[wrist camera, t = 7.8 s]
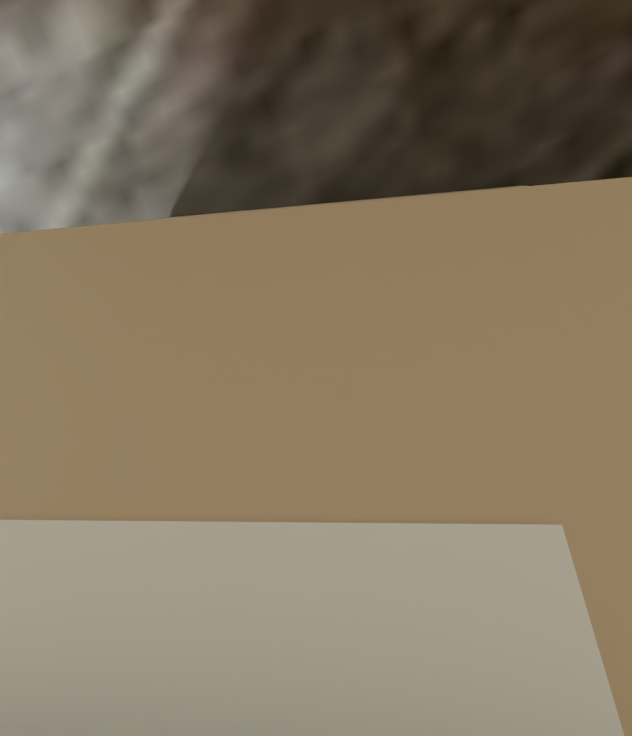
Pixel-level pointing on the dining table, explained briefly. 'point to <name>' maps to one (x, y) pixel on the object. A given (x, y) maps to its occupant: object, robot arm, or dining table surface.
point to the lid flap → (321, 470)
